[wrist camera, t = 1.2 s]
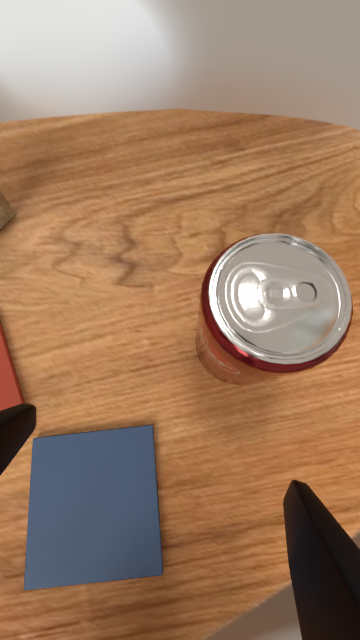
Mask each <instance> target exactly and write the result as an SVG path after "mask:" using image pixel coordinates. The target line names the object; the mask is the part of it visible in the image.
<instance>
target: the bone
mask: <svg viewBox="0 0 360 640" xmlns="http://www.w3.org/2000/svg"><path fill="white" fill-rule="evenodd" d="M15 216H16V214H15V212H14V210H13V209H12V207H11V206H10V204H9V202H8V201H7V200H6V199H5V197H4V196H3V194H2V193H1V192H0V230H1V229H2V228H3V227H4V226H5V225H6V224H7V223H8V222H9V221H10V220H11V219H12V218H13V217H15Z"/></svg>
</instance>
